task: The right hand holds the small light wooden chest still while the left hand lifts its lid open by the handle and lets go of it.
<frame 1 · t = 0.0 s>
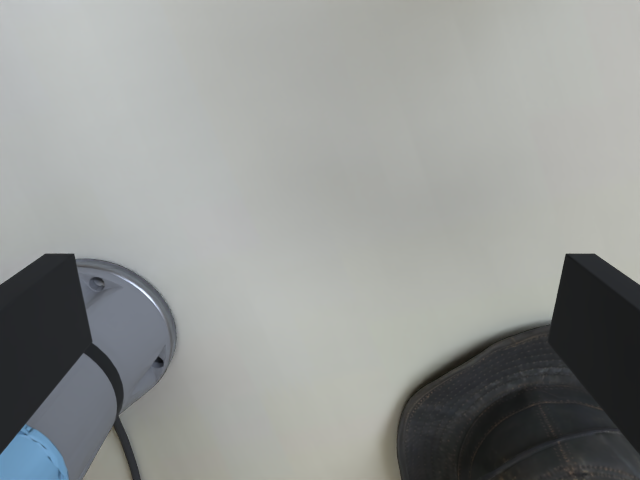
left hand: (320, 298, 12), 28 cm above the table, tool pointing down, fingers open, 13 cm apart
hat: (540, 453, 51), on the table
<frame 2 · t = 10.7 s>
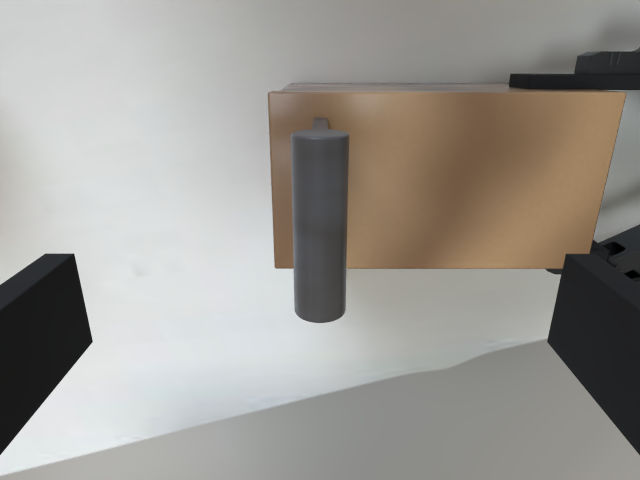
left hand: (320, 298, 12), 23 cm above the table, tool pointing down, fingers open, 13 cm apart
lid: (454, 204, 21), point 14 cm above the table, hinge at 0.0°
chest: (407, 150, 33), on the table, touching right hand
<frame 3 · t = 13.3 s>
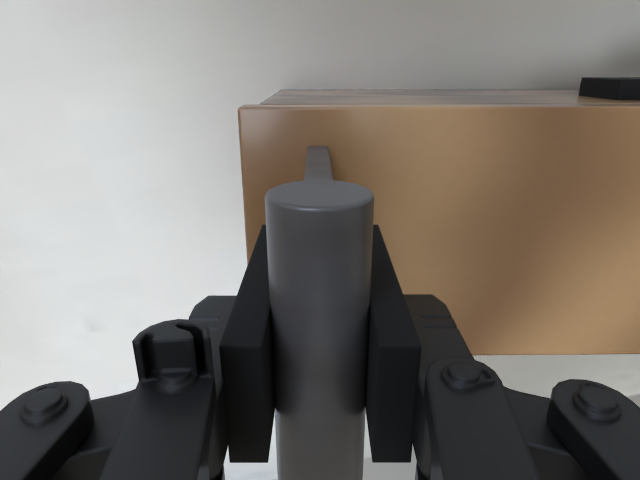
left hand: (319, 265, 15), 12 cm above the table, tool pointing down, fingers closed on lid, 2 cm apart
lid: (530, 284, 13), point 14 cm above the table, hinge at 0.7°, touching left hand
chest: (430, 176, 26), on the table, touching right hand
when the right hand's fingers open (6 cm above the table, at t = 21.5 s): chest stays where it is, on the table.
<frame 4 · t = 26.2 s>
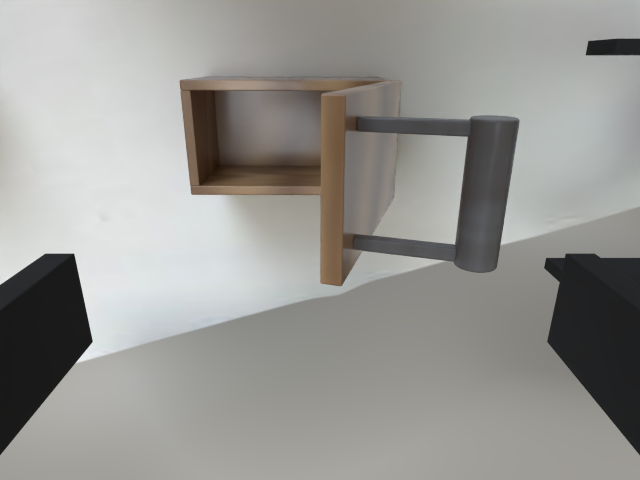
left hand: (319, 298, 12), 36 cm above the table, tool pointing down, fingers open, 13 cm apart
lid: (427, 165, 28), point 19 cm above the table, hinge at 72.7°
chest: (293, 125, 46), on the table
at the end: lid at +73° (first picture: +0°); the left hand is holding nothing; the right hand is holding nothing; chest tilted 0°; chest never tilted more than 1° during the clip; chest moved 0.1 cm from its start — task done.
